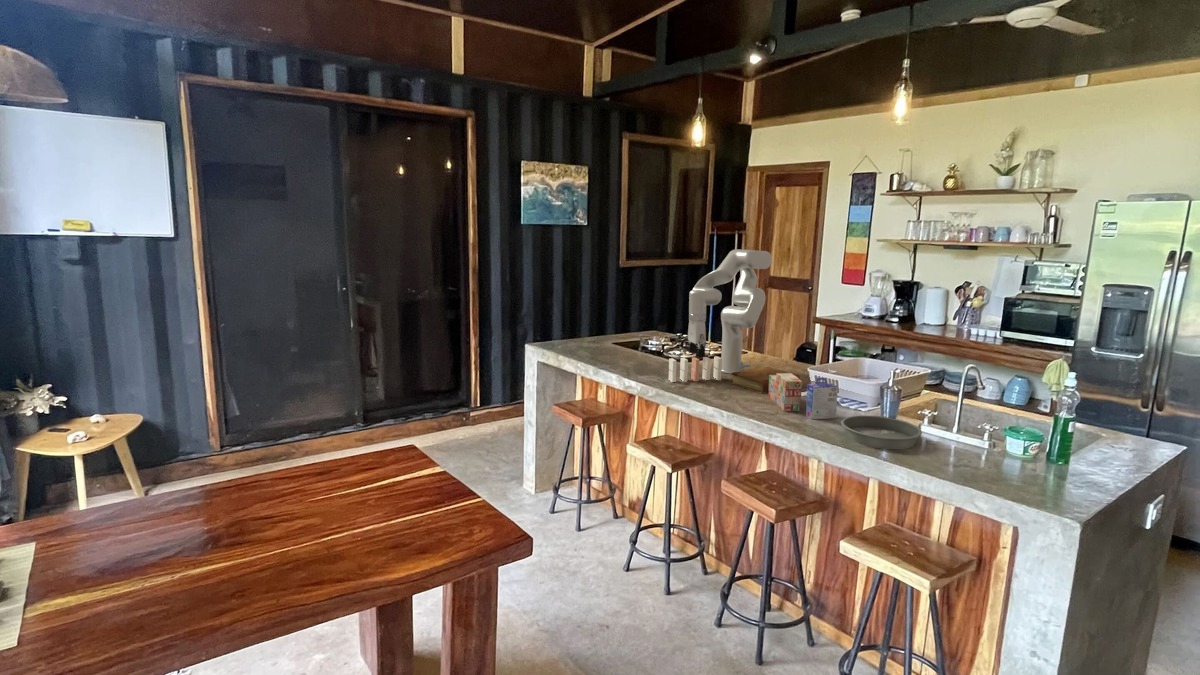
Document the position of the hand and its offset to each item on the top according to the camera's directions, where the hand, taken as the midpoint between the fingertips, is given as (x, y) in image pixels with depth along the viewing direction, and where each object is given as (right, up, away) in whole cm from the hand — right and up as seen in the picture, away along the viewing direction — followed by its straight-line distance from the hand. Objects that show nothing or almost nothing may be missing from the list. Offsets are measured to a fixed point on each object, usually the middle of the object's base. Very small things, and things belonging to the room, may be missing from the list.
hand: (697, 354), depth 284 cm
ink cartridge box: (+38, -22, -52) cm, 68 cm away
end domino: (+10, -11, +4) cm, 16 cm away
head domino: (-11, -12, -1) cm, 17 cm away
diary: (+29, -14, -6) cm, 33 cm away
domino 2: (+5, -11, +3) cm, 13 cm away
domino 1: (-6, -12, 0) cm, 13 cm away
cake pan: (+50, -26, -74) cm, 93 cm away
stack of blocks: (+29, -19, -35) cm, 49 cm away
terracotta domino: (-1, -12, +2) cm, 12 cm away
